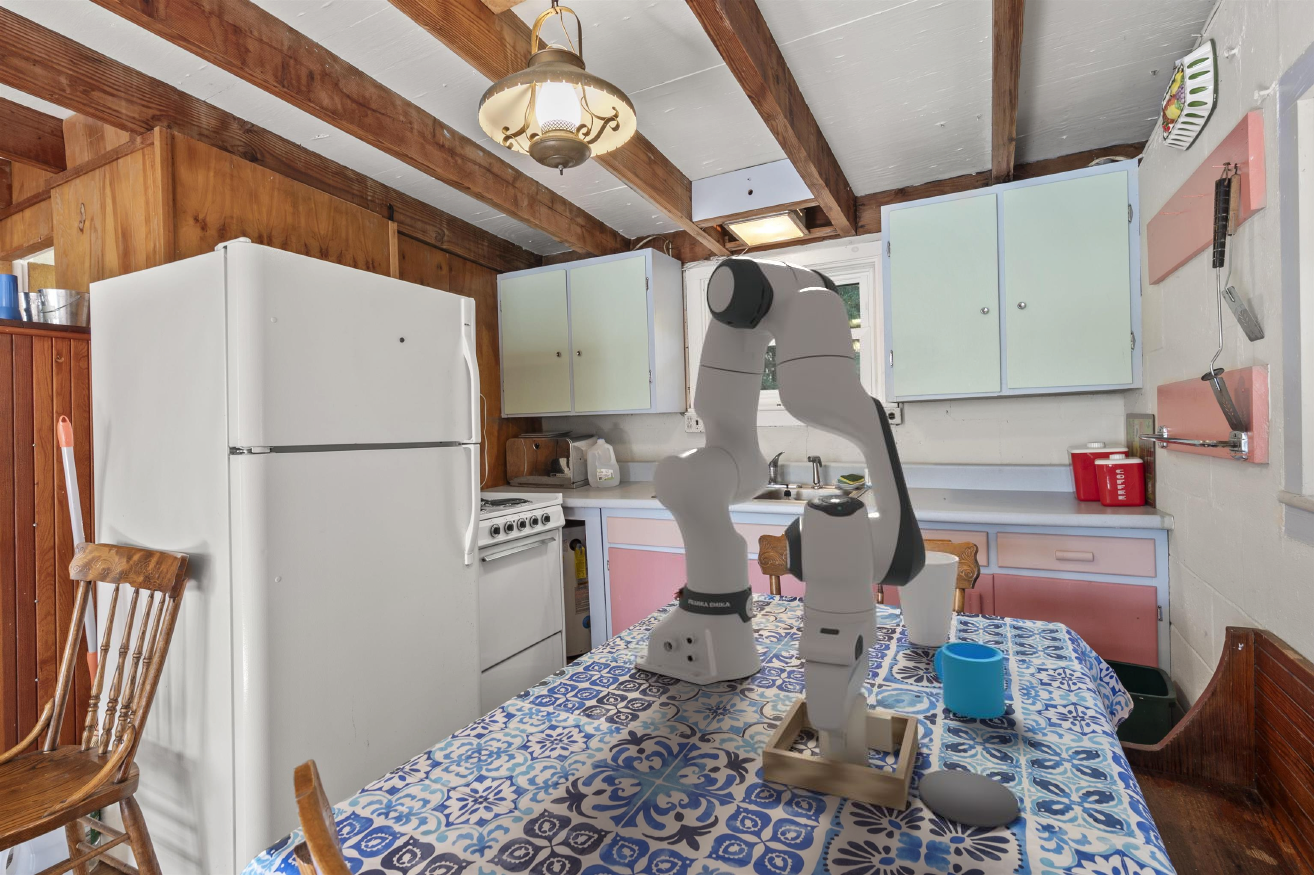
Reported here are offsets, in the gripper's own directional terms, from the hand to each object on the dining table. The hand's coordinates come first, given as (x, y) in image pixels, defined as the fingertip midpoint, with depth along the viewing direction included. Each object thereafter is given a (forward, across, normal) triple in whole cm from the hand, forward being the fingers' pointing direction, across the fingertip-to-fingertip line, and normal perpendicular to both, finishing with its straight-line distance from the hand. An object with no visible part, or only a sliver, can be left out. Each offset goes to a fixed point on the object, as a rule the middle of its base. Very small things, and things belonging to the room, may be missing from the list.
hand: (844, 735), depth 80 cm
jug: (+3, 0, +1) cm, 3 cm away
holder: (+3, 0, 0) cm, 3 cm away
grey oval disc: (+3, +3, +14) cm, 15 cm away
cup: (+3, -50, +6) cm, 50 cm away
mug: (+3, -24, +13) cm, 27 cm away
